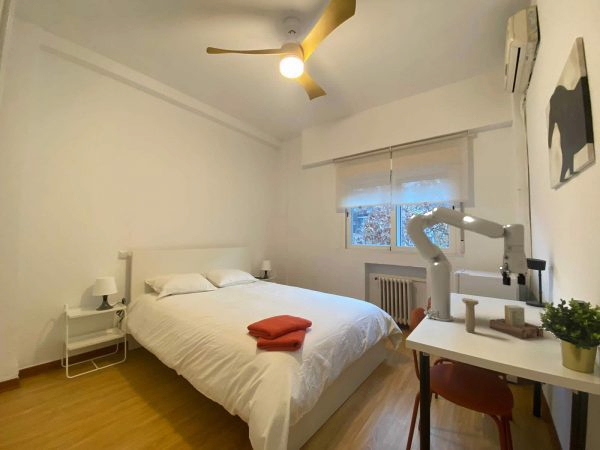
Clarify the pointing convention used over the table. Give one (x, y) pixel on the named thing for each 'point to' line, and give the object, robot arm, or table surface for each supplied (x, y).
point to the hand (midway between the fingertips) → (514, 284)
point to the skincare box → (514, 315)
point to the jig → (516, 329)
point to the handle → (470, 314)
